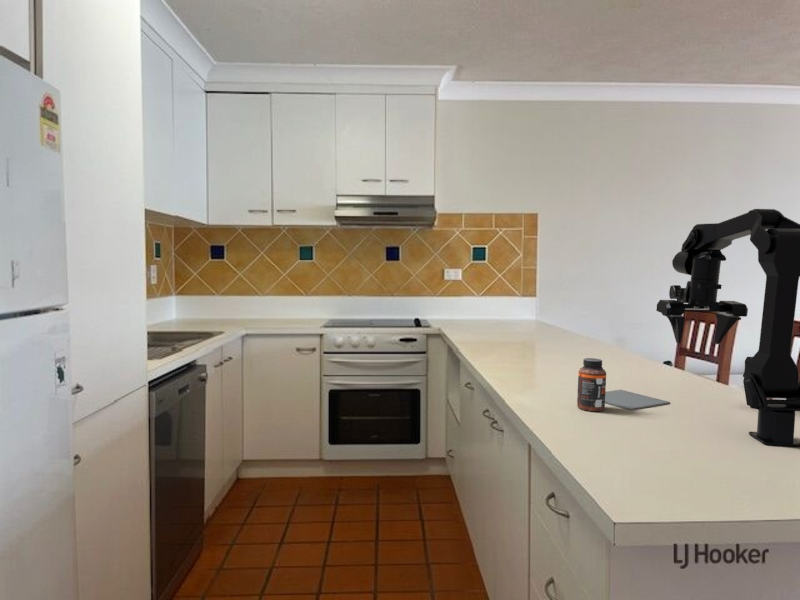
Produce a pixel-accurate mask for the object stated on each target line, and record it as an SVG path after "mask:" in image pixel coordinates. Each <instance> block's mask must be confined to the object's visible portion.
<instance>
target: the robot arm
mask: <svg viewBox="0 0 800 600" xmlns="http://www.w3.org/2000/svg"><path fill="white" fill-rule="evenodd" d="M748 236H750V237H749V241H750V242H751V243H752V245H753V246H754V247H755V249H757V261H758V264H759V265H760V267H761V269H762V271H763V272H764V274H765V276H766V279H765V288H764V297H763V305H762V315H761V316H762V317H761V325H760V332H759V333H760V335H759V344H758V349H757V351H756V353H755V354H754V355H753V356H747V357H746V358H745V360H744V371H743V374H742V378H743V381H742V383H743V389H744V394H745V401H746V405H747V406H749V408H750V409H752V410H753V409H754V410H757V424H756V425H757V426H756V431H748V435H749V436H751V437H752V438H754V439H756V440H757V441H759V442H760V443H762V444H764V445H768V446H772V445H773V446H784V447H785V446H786V447H800V441H798V440H797V439H795V424H796V423H795V422H796V412H800V372H799V371H800V370H799V368H798V365H797V364H796V362H795V361H794V359H793V357H792V356H791V352H792V351H791V349H792V344H793V343H792V341H793V332H794V324H795V317H796V315H795V314H796V306H797V296H798V290H799V288H798V287H799V281H800V223H798V222H797V221H795V220H792V219H791V218H788V217H786V216H785V215H784V214H783V213H782V212H780V211H779V210H777V209H775V208H753V209H752V210H751V209H750V210H749V211H748V212H745V213H742V214H740V215H738V216H734V217H731V218H729V219H727V220H724V221H720V222H718V223H717V222H715V223H698V224H695V225H694V226H693V227H692V229H691V230H690V232H689V233H688V235H687V237H686V239H685V241H684V242H683V243H682V245H681V249H680V250H681V251H679V252H677V253H676V254H675V255H674V256H673V259H672V261H671V264H672V267H673V269H674V270H675V272H677V273H680V274H684V275H687V276H688V275H689V276H690V280H687V282H686V286H685V287H682V286H681V285H675V284H673V285H670V286H669V291H668V293H669V298H670V299H659V301H658V302H657V303H656V312H659V313H661V315H662V316H664V317H666V318H667V319H668V321H669V323H670V325H671V327H672V332H673V335H674V339H675V343H676V344H677V345H680V344H681V342H682V340H683V334H684V327H685V321H686V317H685V316H683V314H684V313H686V312H688V313H694V312H695V313H699V312H700V313H715V318H716V327H715V335H714V344H715V345H720V343H721V341H722V340H724V338H725V336H726V335H727V334H728V332H729V331H730V330H731V329H732V327H734V325H735V324H736V323H737V322H738V321H742V317H745V318H746V317H748V312H749V308H748V306H747V305H746V303H742V302H739V301H736V300H719V301H717V299H718V298H717V297H718V291H719V290H721V289H722V287H723V285H722V284H719V280H720V273H721V265H722V264H721V263H722V262H723V261H724V262H725V261H726V260H727V257H726V256H725V254H724V253H722V251H721V250H724V249H725V248H727V247H730V246H731V245H732V244H733V241H734V240H738V239H740V238H743V237H744V238H745V237H748Z"/></svg>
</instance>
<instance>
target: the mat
mask: <svg viewBox="0 0 800 600" xmlns="http://www.w3.org/2000/svg"><path fill="white" fill-rule="evenodd" d="M669 404H671V401H668V400H665V399H664V400H663V399H660V398H657V397H652V396H648V395H644V394H639V393H637V392H636V393H635V392H632V391H627V390H624V389H616V390H608V391H605V405H610V406H614V407H617V408H621V409H624V410H627V411H635V410H641V409H647V408H653V407H658V406H663V405H669Z"/></svg>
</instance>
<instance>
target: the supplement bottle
mask: <svg viewBox="0 0 800 600" xmlns="http://www.w3.org/2000/svg"><path fill="white" fill-rule="evenodd" d="M582 363H583V366H582V367H580V368H579V370H578V377H577V378H578V379H577V398H576V400H577V401H576V402H577V404H576V406H577V408H578V409H581V410H582V411H586V412H587V411H588V412H602V411H604V410H605V408H606V407H605V406H606V403H605V392H606V390H607V389H606V387H607V372H606V370H605V369H604V367H603V360H602V359H601V358H594V357H586V358H583V360H582Z"/></svg>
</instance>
